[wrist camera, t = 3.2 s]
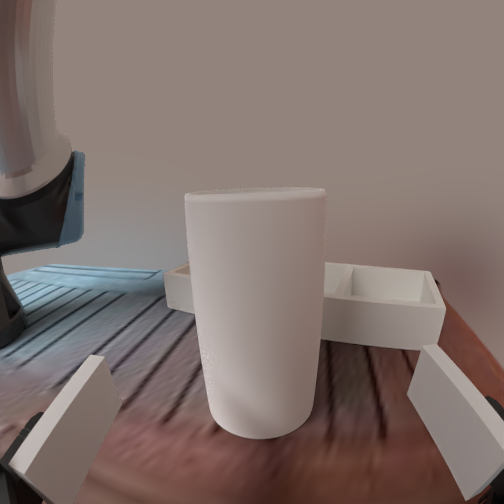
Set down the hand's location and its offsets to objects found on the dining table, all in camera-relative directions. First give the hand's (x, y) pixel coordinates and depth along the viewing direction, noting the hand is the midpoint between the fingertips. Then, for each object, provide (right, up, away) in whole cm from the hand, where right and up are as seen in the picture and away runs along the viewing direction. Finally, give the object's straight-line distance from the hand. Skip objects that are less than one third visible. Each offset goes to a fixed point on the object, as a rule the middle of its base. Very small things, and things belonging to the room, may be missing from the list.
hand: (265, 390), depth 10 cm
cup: (0, -7, +10) cm, 12 cm away
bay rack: (+6, -2, +26) cm, 27 cm away
